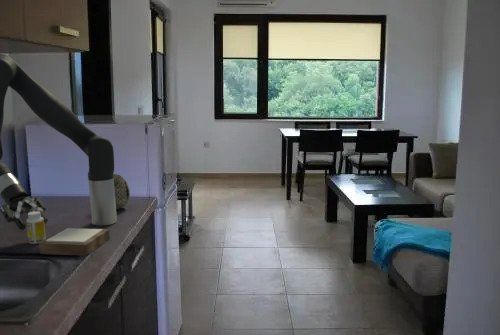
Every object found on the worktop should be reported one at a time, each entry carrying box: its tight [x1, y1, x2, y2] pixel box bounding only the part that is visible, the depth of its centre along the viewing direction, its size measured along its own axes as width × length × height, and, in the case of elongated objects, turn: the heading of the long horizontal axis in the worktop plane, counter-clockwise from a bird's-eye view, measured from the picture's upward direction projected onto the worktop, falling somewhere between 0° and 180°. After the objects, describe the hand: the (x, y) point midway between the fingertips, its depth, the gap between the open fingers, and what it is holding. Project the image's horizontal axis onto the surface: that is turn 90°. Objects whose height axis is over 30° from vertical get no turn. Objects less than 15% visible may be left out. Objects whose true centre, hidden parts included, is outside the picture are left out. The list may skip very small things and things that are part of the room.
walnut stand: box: [38, 227, 111, 256], centre depth 161 cm, size 16×16×4 cm
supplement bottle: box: [25, 210, 47, 245], centre depth 166 cm, size 6×6×10 cm
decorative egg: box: [113, 173, 131, 210], centre depth 206 cm, size 12×12×15 cm
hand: (35, 225), depth 165 cm, fingers open, 8 cm apart
